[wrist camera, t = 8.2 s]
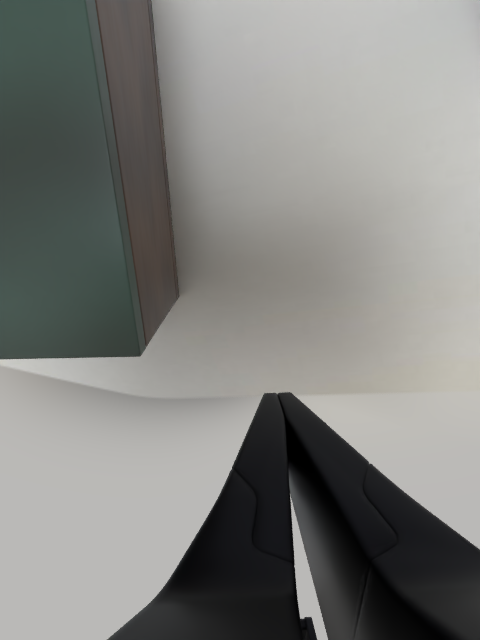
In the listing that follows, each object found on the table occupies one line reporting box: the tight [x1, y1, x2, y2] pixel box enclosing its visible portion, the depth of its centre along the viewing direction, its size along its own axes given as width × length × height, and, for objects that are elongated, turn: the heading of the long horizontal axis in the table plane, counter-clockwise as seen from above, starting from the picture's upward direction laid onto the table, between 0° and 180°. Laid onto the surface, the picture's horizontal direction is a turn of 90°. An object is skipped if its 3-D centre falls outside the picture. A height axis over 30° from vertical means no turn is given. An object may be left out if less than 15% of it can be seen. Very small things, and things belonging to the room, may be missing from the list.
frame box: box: [95, 0, 179, 346], centre depth 13 cm, size 16×14×8 cm
